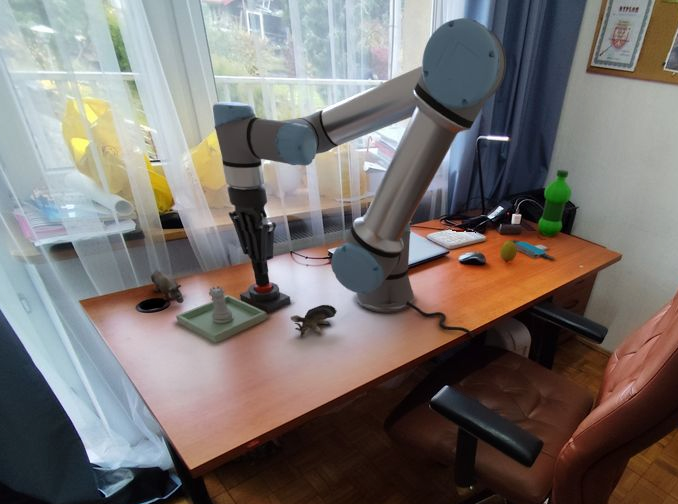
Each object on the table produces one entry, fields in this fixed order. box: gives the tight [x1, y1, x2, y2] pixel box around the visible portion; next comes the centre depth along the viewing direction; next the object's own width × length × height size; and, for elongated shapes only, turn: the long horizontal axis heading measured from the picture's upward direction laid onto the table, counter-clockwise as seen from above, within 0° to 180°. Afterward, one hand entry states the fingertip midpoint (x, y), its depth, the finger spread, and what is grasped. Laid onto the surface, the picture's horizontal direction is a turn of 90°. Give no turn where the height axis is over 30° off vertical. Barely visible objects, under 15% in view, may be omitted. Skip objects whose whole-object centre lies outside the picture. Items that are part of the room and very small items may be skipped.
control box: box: [239, 281, 292, 314], centre depth 105 cm, size 10×7×4 cm
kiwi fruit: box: [499, 240, 518, 264], centre depth 142 cm, size 6×6×8 cm
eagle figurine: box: [290, 304, 338, 338], centre depth 96 cm, size 8×7×9 cm
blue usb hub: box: [512, 239, 554, 261], centre depth 157 cm, size 20×12×2 cm, turn 38°
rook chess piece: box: [208, 285, 233, 324], centre depth 95 cm, size 4×4×8 cm
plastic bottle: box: [537, 169, 572, 237], centre depth 168 cm, size 10×10×25 cm
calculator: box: [426, 229, 487, 250], centre depth 158 cm, size 13×20×2 cm, turn 133°
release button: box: [254, 281, 273, 293], centre depth 104 cm, size 4×4×2 cm
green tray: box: [175, 294, 268, 344], centre depth 97 cm, size 13×13×2 cm
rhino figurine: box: [150, 269, 184, 304], centre depth 101 cm, size 4×14×6 cm, turn 49°
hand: (263, 283), depth 103 cm, fingers closed
